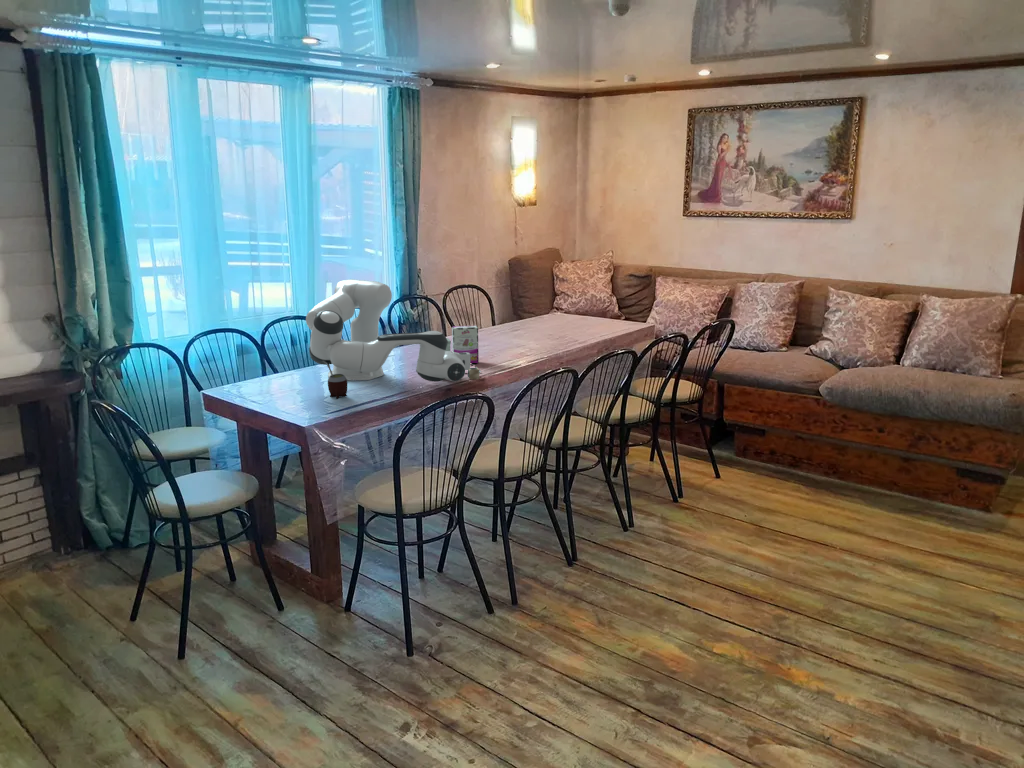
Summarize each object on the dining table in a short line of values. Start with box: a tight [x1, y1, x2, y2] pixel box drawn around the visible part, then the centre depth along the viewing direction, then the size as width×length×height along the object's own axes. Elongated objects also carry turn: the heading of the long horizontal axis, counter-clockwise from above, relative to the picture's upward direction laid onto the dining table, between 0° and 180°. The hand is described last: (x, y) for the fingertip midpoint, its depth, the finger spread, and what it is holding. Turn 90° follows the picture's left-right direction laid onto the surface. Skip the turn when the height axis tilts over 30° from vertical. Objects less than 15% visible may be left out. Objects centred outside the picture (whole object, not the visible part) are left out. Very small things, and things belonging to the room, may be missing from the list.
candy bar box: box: [451, 325, 480, 364], centre depth 335 cm, size 11×5×16 cm, turn 101°
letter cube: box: [467, 366, 480, 380], centre depth 312 cm, size 4×4×4 cm
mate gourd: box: [323, 361, 348, 400], centre depth 281 cm, size 8×8×15 cm
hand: (442, 355), depth 312 cm, fingers closed on tea tin, 5 cm apart
